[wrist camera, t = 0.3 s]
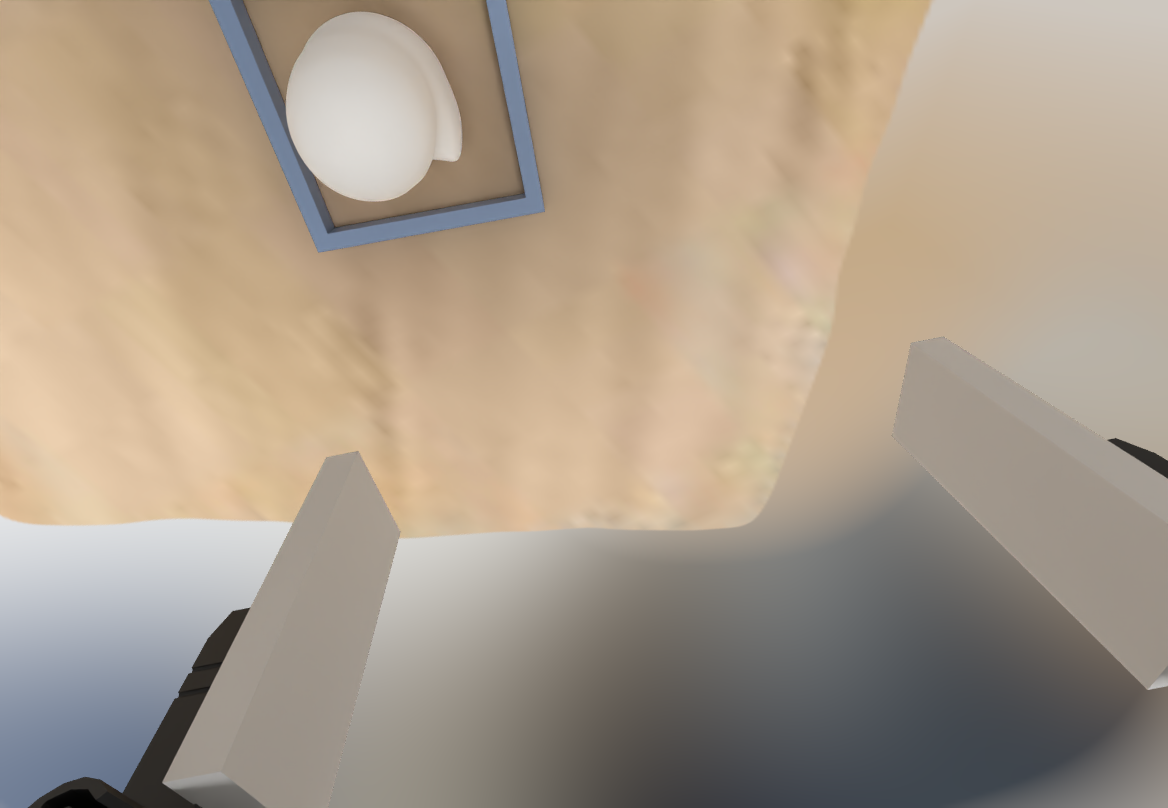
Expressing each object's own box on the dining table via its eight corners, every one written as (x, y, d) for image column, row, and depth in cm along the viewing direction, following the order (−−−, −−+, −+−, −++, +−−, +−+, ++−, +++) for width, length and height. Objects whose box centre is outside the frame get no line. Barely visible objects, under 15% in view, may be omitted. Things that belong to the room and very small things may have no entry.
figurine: (371, 185, 32) (304, 236, 22) (303, 42, 28) (183, 25, 18) (479, 150, 32) (460, 186, 22) (426, -1, 28) (372, -42, 18)
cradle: (205, -41, 26) (188, -46, 25) (489, -92, 26) (487, -100, 25) (326, 245, 34) (318, 252, 33) (544, 206, 34) (544, 211, 33)
